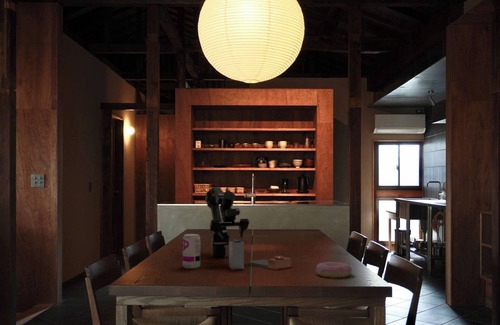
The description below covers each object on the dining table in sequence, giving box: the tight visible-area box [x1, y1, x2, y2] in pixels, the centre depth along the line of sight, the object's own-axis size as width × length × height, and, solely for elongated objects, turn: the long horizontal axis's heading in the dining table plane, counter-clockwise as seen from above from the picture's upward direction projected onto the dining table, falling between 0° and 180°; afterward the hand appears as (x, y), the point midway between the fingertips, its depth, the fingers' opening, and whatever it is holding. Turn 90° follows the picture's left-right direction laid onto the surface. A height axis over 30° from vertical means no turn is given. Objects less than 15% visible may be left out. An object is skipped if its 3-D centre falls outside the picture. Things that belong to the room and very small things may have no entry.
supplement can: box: [182, 233, 201, 269], centre depth 236 cm, size 8×8×15 cm
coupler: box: [247, 255, 292, 271], centre depth 239 cm, size 19×10×5 cm, turn 43°
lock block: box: [228, 238, 245, 270], centre depth 233 cm, size 6×6×13 cm
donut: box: [315, 261, 352, 279], centre depth 217 cm, size 16×15×5 cm
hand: (232, 238), depth 240 cm, fingers open, 9 cm apart
